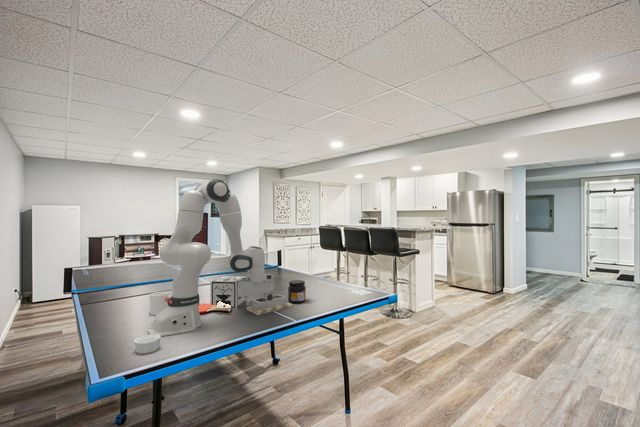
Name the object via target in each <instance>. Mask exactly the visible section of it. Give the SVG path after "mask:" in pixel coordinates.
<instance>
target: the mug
mask: <svg viewBox="0 0 640 427" xmlns="http://www.w3.org/2000/svg"><path fill="white" fill-rule="evenodd" d="M166 297H169V296H168V292H167V291H157V292H153V293H150V294H149V314H150V315H151V316H156V315H157V314H158V313H159V312H161V311H162V310H163V309H164V308H165V307H167V306H168V302H166V301H165V300H164V299H165V298H166Z"/></svg>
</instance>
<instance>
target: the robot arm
mask: <svg viewBox="0 0 640 427" xmlns="http://www.w3.org/2000/svg"><path fill="white" fill-rule="evenodd" d="M208 204H215V206H216V207H217V210H218V215H219V220H220V223H221V227H222V228H223V230H224V232H225V233H226V235H227V238H228V242H229V247H230V255H229V265H230V268H231V269H232V270H233V271H234V272H236V273H241V272H246V271H247V277H246V278H245V279H241V280H240V281H239V282H238V296H239V297H244V298H245V300H246V302H245V303H246V305H247V306H250V300H249V297H252V296H257V295H262V294H264V295H263V297H264V298H262V301H266V298H267V296H268V294H270V293H273V292H274V290H275V282H274V279H273V278H274V275H273V274H270V273H268V272H266V271H265V262H266V261H265V260H266V258H265V256H266V255H265V251H264V249H263V248H261V247H259V246H256V245H255V246H254V245H253V246H252V245H251V246H249V247H248V248H246V249H243V244H242V239H241V229H242V225H243V224H242V223H243V217H242V210H241V206H240V203H239V200H238V197H237V196H236V194H235V193H232V192H231V190H230V189H229V185H228V184H227V183H226V181H224V180H222V179H219V178H216V179H215V178H214V179H211V180H207V181H204V182H203V183H199V184H198V185H197V186H196V187H195V189H189V190H186V191H185V192H184V193H183V194H182V197H181V200H180V203H179V206H178V207H179V208H178V214H177V220H176V224H175V225H176V226H175V227H174V231H173V233H172V235H171V237H170V238H169V239H168V240H167V241H166V242H165V243H164V244H163V245H162V246H161V248H160V250H159V258H160V260H161V261H162V262H163V263H166V264H168V265H173V266H180V270H179V273H178V274H177V275H176V276H174V277H173V279H172V282H171V284H172V290H171V292H172V293H171V296H170V297H169V296H168V297H166V298H165V299H164V300H165V301H166V302H168V306H167V307H165V308H164V309H163V310H162V311H161V312H159V313H158V314H157V315H154V319H153V323H152V324H153V325H151V326H149V327H148V328H147V335H150V334H158V335H160V336H161V338H162V337H166V336H167V337H168V336H173V335H179V334H185V333H191V332H194V331H195V330H196V329H198V328H199V327H201V326H202V325H203V322H202V320H201V315H200V314H201V313H200V309H199V308H200V294H199V281H200V280H199V279H200V275H201V271H202V270H203V268H204V267H205V265H206V264H208V263H209V262H210V260H211V257H212V250H211V248H210V246H209V245H208V244H205V243H202V242H199V241H198V242H197V241H192V240H193V239H194V237H195V236H196V235H198V234H199V233H200V231H202V229H203V228H202V227H203V220H204V212H205V207H206V205H208Z"/></svg>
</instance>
